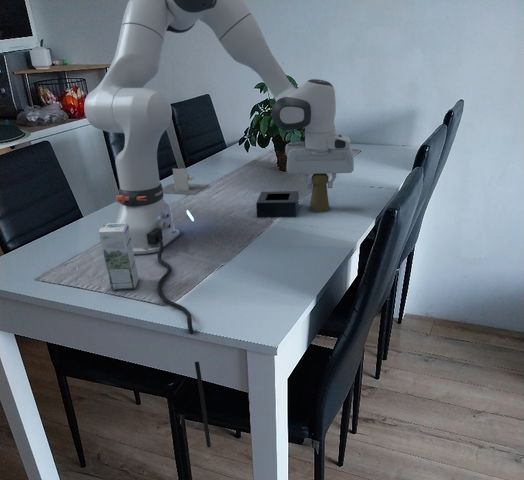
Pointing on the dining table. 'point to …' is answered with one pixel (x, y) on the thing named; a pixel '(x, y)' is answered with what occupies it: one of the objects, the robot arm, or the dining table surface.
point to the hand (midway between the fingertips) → (319, 187)
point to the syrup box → (119, 255)
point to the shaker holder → (278, 204)
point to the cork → (319, 193)
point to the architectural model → (182, 183)
